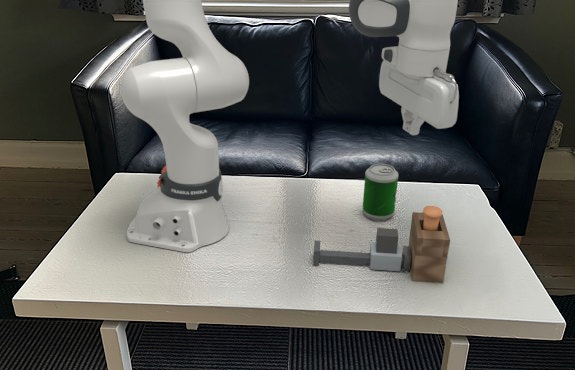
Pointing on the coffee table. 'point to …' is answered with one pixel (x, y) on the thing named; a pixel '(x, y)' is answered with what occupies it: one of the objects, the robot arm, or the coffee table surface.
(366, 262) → the rail
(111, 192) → the coffee table surface
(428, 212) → the plunger
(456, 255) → the coffee table surface
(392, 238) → the carriage
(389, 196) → the soda can
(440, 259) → the wooden box with opening
